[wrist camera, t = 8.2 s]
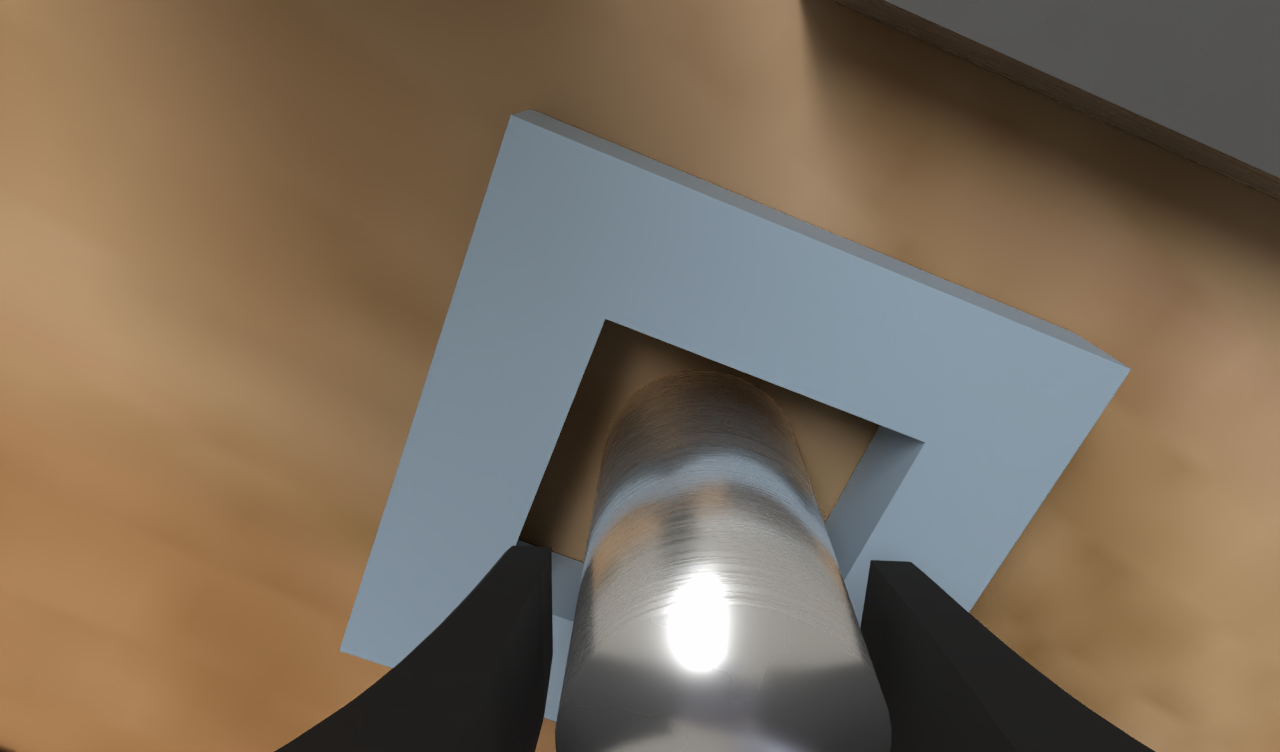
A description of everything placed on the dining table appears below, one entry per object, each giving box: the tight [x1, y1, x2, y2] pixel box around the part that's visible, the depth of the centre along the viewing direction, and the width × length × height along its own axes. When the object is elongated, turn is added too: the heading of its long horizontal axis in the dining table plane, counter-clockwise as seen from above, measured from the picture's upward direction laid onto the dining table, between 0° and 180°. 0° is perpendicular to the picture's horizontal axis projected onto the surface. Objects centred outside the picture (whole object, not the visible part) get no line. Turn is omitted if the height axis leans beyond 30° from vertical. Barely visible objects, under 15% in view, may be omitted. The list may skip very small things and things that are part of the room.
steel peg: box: [555, 370, 891, 752], centre depth 13 cm, size 4×4×8 cm
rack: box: [339, 109, 1131, 722], centre depth 16 cm, size 11×11×2 cm
